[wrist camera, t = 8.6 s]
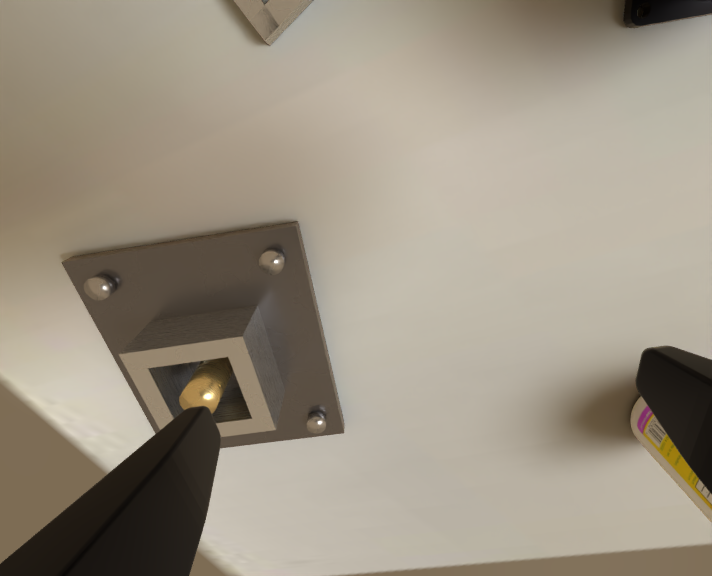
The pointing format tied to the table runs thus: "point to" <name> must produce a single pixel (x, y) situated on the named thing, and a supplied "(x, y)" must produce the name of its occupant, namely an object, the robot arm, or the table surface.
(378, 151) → the table surface
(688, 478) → the supplement bottle
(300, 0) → the chain tail
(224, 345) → the end link
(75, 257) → the keeper plate
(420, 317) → the table surface
